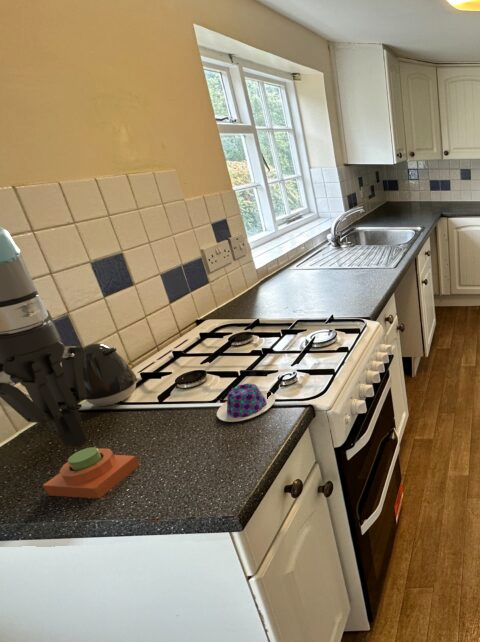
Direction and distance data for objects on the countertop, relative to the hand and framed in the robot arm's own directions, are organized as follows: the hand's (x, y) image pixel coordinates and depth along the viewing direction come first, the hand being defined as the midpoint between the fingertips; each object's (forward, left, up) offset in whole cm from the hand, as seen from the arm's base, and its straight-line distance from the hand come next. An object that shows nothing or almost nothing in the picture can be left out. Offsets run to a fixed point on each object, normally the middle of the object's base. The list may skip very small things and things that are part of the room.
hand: (76, 443), depth 74 cm
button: (0, 0, -5) cm, 5 cm away
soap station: (0, 0, -9) cm, 9 cm away
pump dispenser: (-21, +24, -9) cm, 33 cm away
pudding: (+14, +23, -9) cm, 29 cm away
